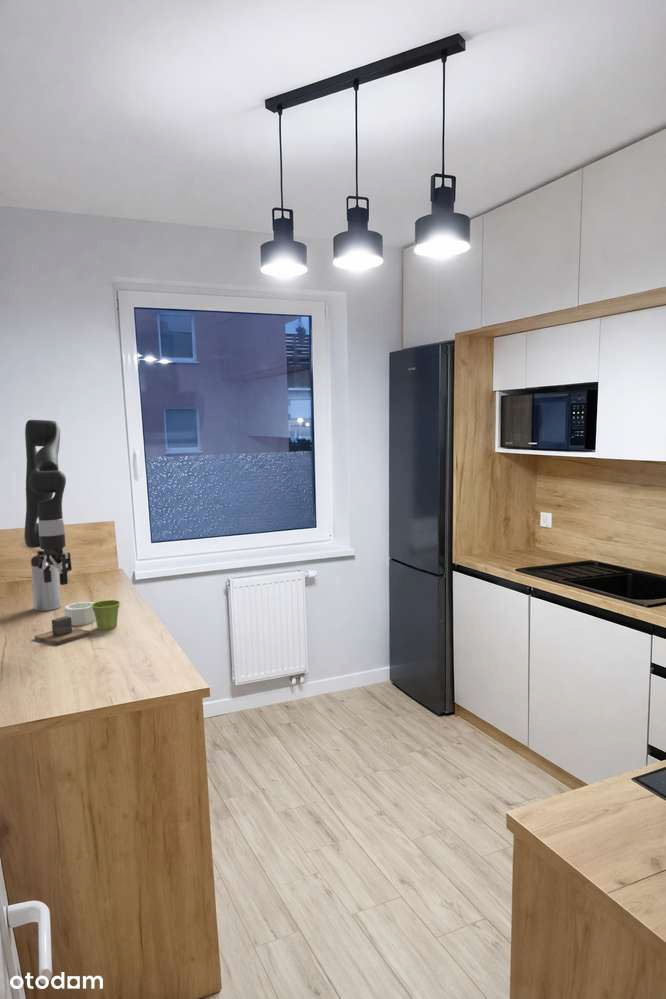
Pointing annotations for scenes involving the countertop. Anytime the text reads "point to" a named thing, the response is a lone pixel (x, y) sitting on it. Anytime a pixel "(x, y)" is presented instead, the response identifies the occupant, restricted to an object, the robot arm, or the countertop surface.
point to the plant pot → (106, 613)
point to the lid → (62, 632)
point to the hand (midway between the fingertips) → (55, 583)
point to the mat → (60, 644)
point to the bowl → (80, 613)
